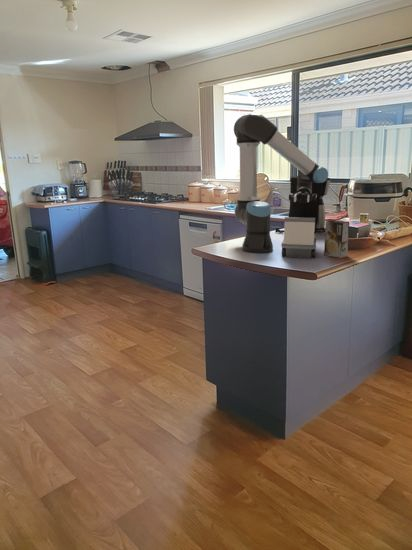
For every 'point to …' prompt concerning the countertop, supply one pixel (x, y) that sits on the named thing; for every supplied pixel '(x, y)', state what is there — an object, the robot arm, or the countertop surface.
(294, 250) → the bed
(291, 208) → the coffee maker
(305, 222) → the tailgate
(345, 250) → the coffee box
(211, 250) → the countertop surface
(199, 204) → the countertop surface
